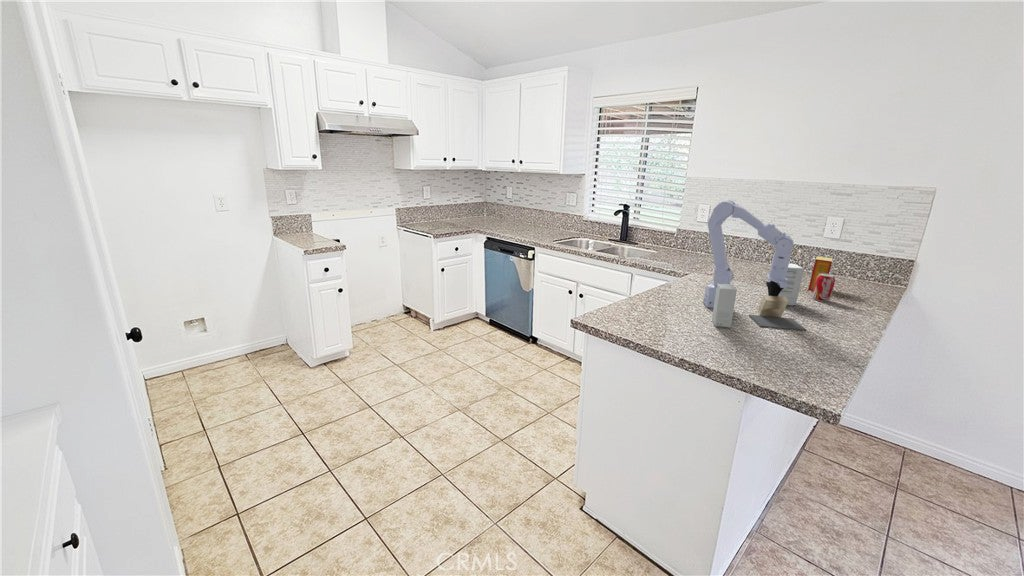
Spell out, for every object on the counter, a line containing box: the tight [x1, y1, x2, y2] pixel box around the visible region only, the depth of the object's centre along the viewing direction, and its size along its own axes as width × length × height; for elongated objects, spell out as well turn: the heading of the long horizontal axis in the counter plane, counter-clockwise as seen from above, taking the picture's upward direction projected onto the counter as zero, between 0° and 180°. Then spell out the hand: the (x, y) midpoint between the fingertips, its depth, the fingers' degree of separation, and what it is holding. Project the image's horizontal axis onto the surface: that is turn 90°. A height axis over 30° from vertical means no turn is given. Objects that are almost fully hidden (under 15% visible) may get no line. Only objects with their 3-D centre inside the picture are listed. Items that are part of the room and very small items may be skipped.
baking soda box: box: [807, 255, 833, 292], centre depth 212 cm, size 10×6×16 cm
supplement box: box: [766, 263, 805, 306], centre depth 190 cm, size 10×9×17 cm
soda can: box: [811, 273, 836, 303], centre depth 196 cm, size 7×7×12 cm
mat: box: [748, 314, 807, 332], centre depth 167 cm, size 16×12×1 cm
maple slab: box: [756, 294, 788, 317], centre depth 171 cm, size 8×3×8 cm, turn 80°
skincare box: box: [711, 283, 738, 329], centre depth 162 cm, size 8×6×15 cm
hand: (771, 300), depth 172 cm, fingers closed
